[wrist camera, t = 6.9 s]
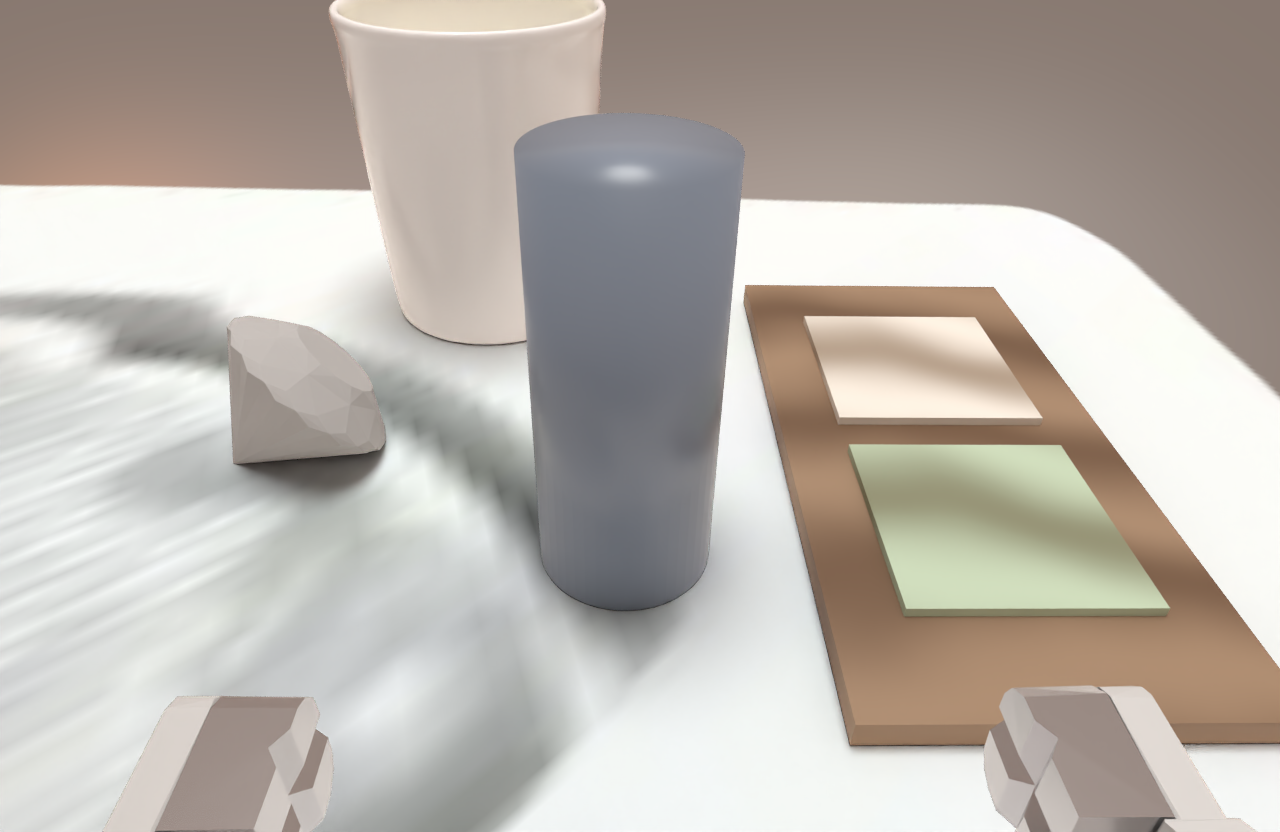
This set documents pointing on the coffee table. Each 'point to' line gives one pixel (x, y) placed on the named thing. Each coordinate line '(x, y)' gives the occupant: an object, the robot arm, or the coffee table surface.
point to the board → (981, 526)
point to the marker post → (626, 345)
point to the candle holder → (461, 140)
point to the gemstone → (297, 394)
